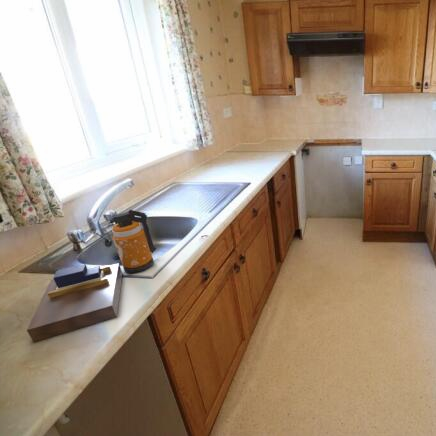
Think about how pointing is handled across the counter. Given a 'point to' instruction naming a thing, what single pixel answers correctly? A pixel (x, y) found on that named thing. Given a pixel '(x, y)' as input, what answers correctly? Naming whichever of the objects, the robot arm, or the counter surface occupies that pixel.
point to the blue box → (76, 276)
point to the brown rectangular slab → (77, 305)
